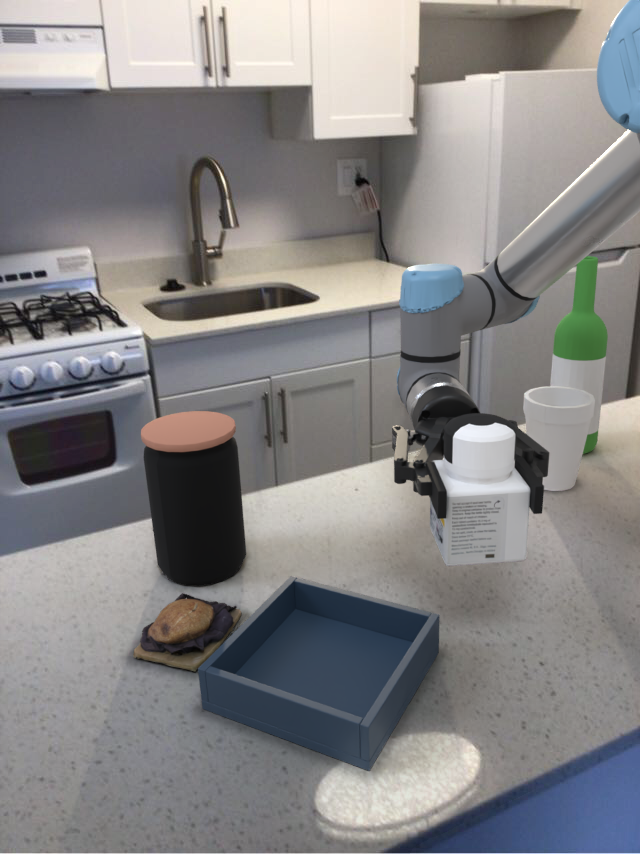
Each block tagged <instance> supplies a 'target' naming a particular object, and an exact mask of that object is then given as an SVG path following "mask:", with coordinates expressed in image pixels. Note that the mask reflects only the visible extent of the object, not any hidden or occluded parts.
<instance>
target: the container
mask: <svg viewBox="0 0 640 854" xmlns="http://www.w3.org/2000/svg"><path fill="white" fill-rule="evenodd" d="M509 420H510V419H506V418H504V417H503V416H502V417H501V416H500V415H496V414H491V413H485V412H484V413H483V412H480V413H472V414H465V415H462V416H458V417H456V418H453V419H451V420H450V421H449V422H448V423H447V424H446V425H445V427H444V458H443V460H433V461H432V462H434V463H435V465H436V467H437V469H438V472H439V474H440V476H441V479H442V481H443V483H444V486H445V488H446V490H447V507H446V518H445V519H438V518H437V515H436V513H435V510H434V507H433V505H432V502H431V499H430V498H429V529H430V532H431V534H432V536H433V538H434V541H435V544H436V546H437V548H438V551H439V553H440V556H441V558H442V560H443V564H444V565H445V566H447V567H457V566H458V567H459V566H460V567H461V566H473V565H489V564H503V563H518V562H519V563H520V562H524V561H526V560H527V551H528V536H529V535H528V534H529V523H530V522H529V520H530V492H531V490H530V487H529V486H528V485H527V483H526V482H525V481H524V479H523V478H522V477H521V475H520V474H519V473H518V471H517V470H516V469H515V451H516V433H517V430H516V428H515V426H514V425H513V424H512V423H511V422H510V421H509Z"/></svg>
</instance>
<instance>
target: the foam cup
mask: <svg viewBox="0 0 640 854" xmlns="http://www.w3.org/2000/svg"><path fill="white" fill-rule="evenodd" d="M594 406H595V399H594V396H593V395H591V394H590V393H588V392H586V391H583V390H579V389H575V388H571V387H560V386H550V385H548V386H539V387H534V388H530V389H528V390H526V391H525V392H524V393H523V406H522V407H523V415H524V418H525V420H524V421H525V431H526V432H525V434H527V435H528V436H529V437H531V438H532V439H533V440H534V441H536V442H537V443H538V444H539V445H541V446H542V447H543V448H545V449H546V450H547V451H548V452H549V467H548V476H547V477H543V485H544V491H551V492H564V491H568V490H571V489H573V488H574V486H575V485H576V482H577V478H578V474H579V471H580V466H581V462H582V458H583V455H584V454H583V450H584V446H585V442H586V438H587V434H588V430H589V426H590V422H591V418H592V417H593V416H594Z"/></svg>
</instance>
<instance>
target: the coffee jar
mask: <svg viewBox="0 0 640 854" xmlns="http://www.w3.org/2000/svg"><path fill="white" fill-rule="evenodd" d="M236 429H237V426H236V420H235V419H234V418H232V417H231V416H229V415H227V414H224V413H221V412H216V411H210V410H209V411H208V410H189V411H181V412H175V413H171V414H166V415H163V416H160V417H157V418H154V419H153V420H151V421H149V422H148V423H146V424H144V426H143V427H142V428H141V430H140V438H141V442H142V443H143V444H144V445H145V447H144V449H143V464H144V472H145V480H146V487H147V496H148V501H149V502H148V503H149V509H150V517H151V525H152V533H153V540H154V541H153V542H154V548H155V554H156V564H157V567H158V568H159V570H160V571H161V572H162V574H163V575H164V576H166V578H167V579H168V580H170V581H171V582H173V583H175V584H178V585H182V586H186V587H203V586H211V585H215V584H217V583H220V582H223V581H226V580H227V579H229V578H231V577H233V576H234V575H235V574H236V573H237V572H238V571H239V570H240V568H241V566H242V565H243V563H244V561H245V559H246V556H247V545H246V532H245V520H244V518H245V517H244V506H243V496H242V484H241V483H242V482H241V473H240V472H241V471H240V460H239V459H240V458H239V448H238V444H237V443H238V442H237V439H236V438H235V437H234V435H235V433H236V431H237V430H236Z"/></svg>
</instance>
